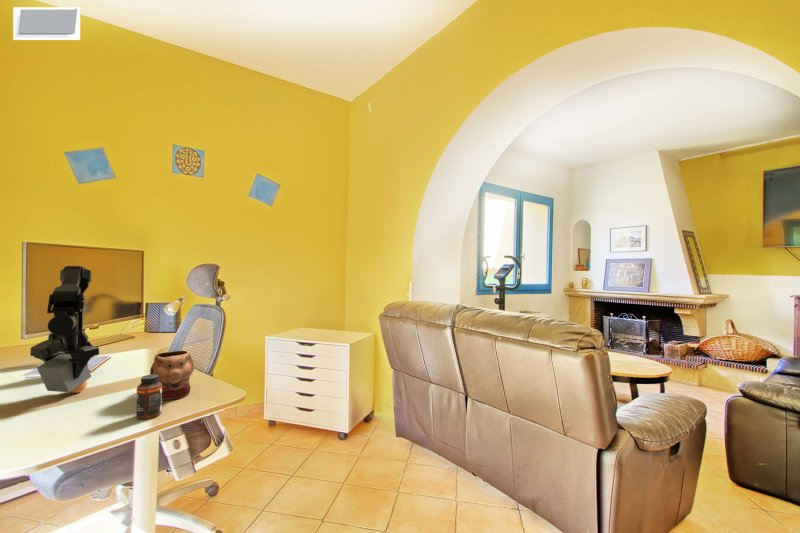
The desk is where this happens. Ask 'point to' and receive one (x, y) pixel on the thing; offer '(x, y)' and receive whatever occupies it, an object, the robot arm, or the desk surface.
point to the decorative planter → (173, 373)
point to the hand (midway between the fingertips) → (64, 377)
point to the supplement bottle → (149, 397)
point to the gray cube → (61, 374)
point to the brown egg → (79, 387)
